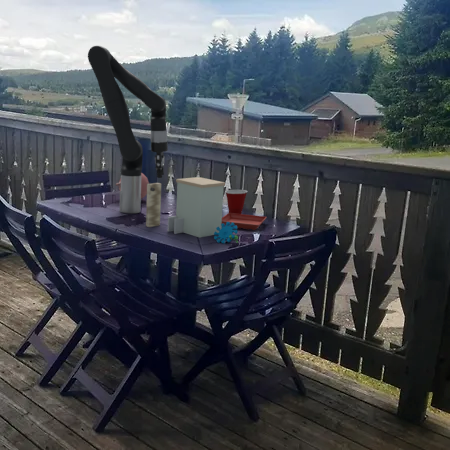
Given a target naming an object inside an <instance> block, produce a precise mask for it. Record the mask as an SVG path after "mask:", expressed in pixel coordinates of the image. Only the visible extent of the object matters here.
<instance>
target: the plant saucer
mask: <svg viewBox="0 0 450 450" xmlns="http://www.w3.org/2000/svg"><path fill="white" fill-rule="evenodd" d="M266 219H267V216H262V215H255V214H254V215H252V214H243V213H242V214H236V213H229V212H228V213H226V214H225V215H224V216H222V222H221V224H222V223H224V224H225V225H226V222H230V224H231V223H232V222H233V223H234V224H235V225H237V229H241V228H243V229H244V230H249V229H252V231H256V230H257V229H258V228H259V227H260V226H261V225H262V224H263V223H264V222H265V220H266ZM235 225H234V226H235ZM228 226H229V225H228ZM231 227H233V226H231ZM243 229H242V230H243Z"/></svg>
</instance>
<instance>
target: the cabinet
mask: <svg viewBox="0 0 450 450" xmlns="http://www.w3.org/2000/svg"><path fill="white" fill-rule="evenodd" d="M175 182H176V184H177V185H176V186H177V187H176V192H177V193H176V210H175V214H176V215H175V216H173V215H172V216H168V217H167V232H169V233H170V232H173V234H175V235H176V234H182V233H185V234H187V235H191V236H194V237H197V238H205V237H210V236H215V235H214V232H215V231H216V232H217V233H219V231H218V230H217V229H216V228H217V227H219V228H220V229H221V228H222V226H221V222H222V217H223V204H224V203H223V201H224V187H225V186H226V182H224V181H219V180H216V179H215V180H214V179H209V178H206V177H205V178H204V177H201V176H197V177H195V176H194V177H187V178H186V177H184V178H183V177H182V178H176V179H175Z"/></svg>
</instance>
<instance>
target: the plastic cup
mask: <svg viewBox="0 0 450 450" xmlns="http://www.w3.org/2000/svg"><path fill="white" fill-rule="evenodd" d="M224 193H225V195H226V201H227V209H228V213H236V214H243V210H244V205H245V201H246V196H247V193H248V190H246V189H244V190H243V189H228V190H225V191H224Z"/></svg>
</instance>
